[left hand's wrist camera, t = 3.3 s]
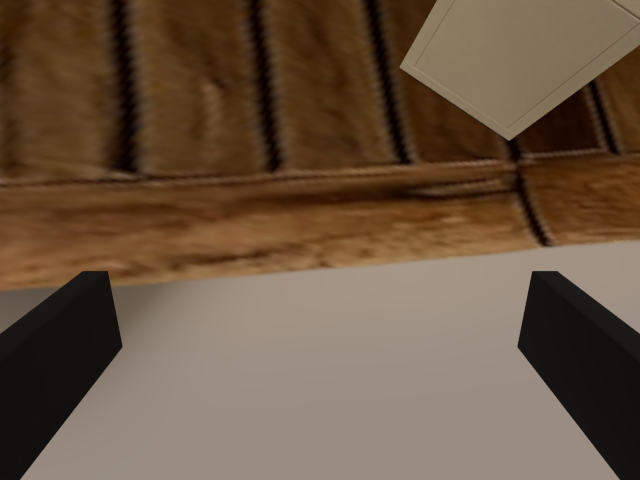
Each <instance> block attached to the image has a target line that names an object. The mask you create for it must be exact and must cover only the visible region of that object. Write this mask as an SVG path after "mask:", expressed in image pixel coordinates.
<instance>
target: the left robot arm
mask: <svg viewBox="0 0 640 480" xmlns="http://www.w3.org/2000/svg"><path fill="white" fill-rule="evenodd" d="M122 347H123V346H122V341H121V336H120V331H119V326H118V321H117V316H116V311H115V306H114V301H113V296H112V291H111V285H110V280H109V275H108V271H82V272H81V273H80V274H79V275H77V276H76V277H75V278H73V279H72V280H71V281H69V282H68V283H67V284H65V285H64V286H63V287H61V288H60V289H59V290H57V291H56V292H55V293H53V294H52V295H51V296H50V297H48V298H47V299H46V300H44V301H43V302H42V303H40V304H39V305H38V306H36V307H35V308H34V309H32V310H31V311H30V312H28V313H27V314H26V315H24V316H23V317H22V318H21V319H19V320H18V321H17V322H15V323H14V324H13V325H11V326H10V327H9V328H7V329H6V330H5V331H3V332H2V333H1V334H0V480H20V479H21V478H22V476H23V475H24V474H25V472H26V471H27V470H28V469H29V467H30V466H31V465H32V463H33V462H34V461H35V460H36V458H37V457H38V456H39V454H40V453H41V452H42V451H43V449H44V448H45V447H46V445H47V444H48V443H49V441H50V440H51V439H52V438H53V436H54V435H55V434H56V432H57V431H58V430H59V429H60V427H61V426H62V425H63V423H64V422H65V421H66V419H67V418H68V417H69V416H70V414H71V413H72V412H73V410H74V409H75V408H76V407H77V405H78V404H79V403H80V401H81V400H82V399H83V397H84V396H85V395H86V394H87V392H88V391H89V390H90V388H91V387H92V386H93V385H94V383H95V382H96V381H97V379H98V378H99V377H100V375H101V374H102V373H103V372H104V370H105V369H106V368H107V366H108V365H109V364H110V362H111V361H112V360H113V359H114V357H115V356H116V355H117V353H118V352H119V351H120V350H121V348H122ZM518 348H519V350H520V351H521V352H522V353H523V355H524V356H525V357H526V359H527V360H528V361H529V363H530V364H531V365H532V366H533V368H534V369H535V370H536V372H537V373H538V374H539V375H540V377H541V378H542V379H543V381H544V382H545V383H546V385H547V386H548V387H549V388H550V390H551V391H552V392H553V393H554V395H555V396H556V397H557V399H558V400H559V401H560V403H561V404H562V405H563V407H564V408H565V409H566V410H567V412H568V413H569V414H570V416H571V417H572V418H573V419H574V421H575V422H576V423H577V425H578V426H579V427H580V429H581V430H582V431H583V432H584V434H585V435H586V436H587V438H588V439H589V440H590V441H591V443H592V444H593V445H594V447H595V448H596V449H597V451H598V452H599V453H600V454H601V456H602V457H603V458H604V460H605V461H606V462H607V463H608V465H609V466H610V467H611V469H612V470H613V471H614V473H615V474H616V475H617V476H618V478H619V479H620V480H640V334H639V333H638V332H637V331H635V330H634V329H633V328H631V327H630V326H629V325H627V324H626V323H625V322H623V321H622V320H621V319H619V318H618V317H617V316H615V315H614V314H613V313H612V312H610V311H609V310H608V309H606V308H605V307H604V306H602V305H601V304H600V303H598V302H597V301H596V300H594V299H593V298H592V297H590V296H589V295H588V294H587V293H585V292H584V291H583V290H581V289H580V288H579V287H577V286H576V285H575V284H573V283H572V282H571V281H569V280H568V279H567V278H565V277H564V276H563V275H561V274H560V273H559V272H558V271H532V276H531V280H530V285H529V291H528V296H527V301H526V306H525V311H524V316H523V321H522V326H521V331H520V336H519V341H518Z"/></svg>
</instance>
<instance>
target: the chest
mask: <svg viewBox="0 0 640 480" xmlns="http://www.w3.org/2000/svg"><path fill="white" fill-rule="evenodd" d="M639 45H640V18H639V17H637V16H636V15H634V14H633V13H632V12H630V11H629V10H627V9H626V8H624V7H623V6H621V5H620V4H618V3H617V2H615V1H614V0H437V2H436V3H435V5H434V7H433V9H432V10H431V12H430V14H429V16H428V17H427V19H426V21H425V23H424V25H423V26H422V28H421V30H420V32H419V33H418V35H417V37H416V39H415V41H414V42H413V44H412V46H411V48H410V49H409V51H408V53H407V55H406V56H405V58H404V60H403V62H402V64H401V65H400V68H401V69H402V70H404V71H405V72H407V73H408V74H410V75H411V76H413V77H414V78H416V79H417V80H419V81H420V82H422V83H423V84H425V85H426V86H428V87H429V88H431V89H432V90H434V91H435V92H437V93H438V94H440V95H441V96H443V97H444V98H446V99H447V100H449V101H450V102H452V103H453V104H455V105H456V106H458V107H459V108H461V109H462V110H464V111H465V112H467V113H468V114H470V115H471V116H473V117H474V118H476V119H477V120H478V121H480V122H481V123H483V124H484V125H486V126H487V127H489V128H490V129H492V130H493V131H495V132H496V133H498V134H499V135H501V136H502V137H504V138H505V139H507V140H508V141H509V140H511V139H512V138H514V137H515V136H516V135H518V134H519V133H521V132H522V131H523V130H525V129H526V128H527V127H529V126H530V125H531V124H533V123H534V122H535V121H537V120H538V119H540V118H541V117H542V116H544V115H545V114H546V113H548V112H549V111H550V110H552V109H553V108H555V107H556V106H557V105H559V104H560V103H561V102H563V101H564V100H565V99H567V98H568V97H569V96H571V95H572V94H574V93H575V92H576V91H578V90H579V89H580V88H582V87H583V86H584V85H586V84H587V83H589V82H590V81H591V80H593V79H594V78H595V77H597V76H598V75H599V74H601V73H602V72H603V71H605V70H606V69H608V68H609V67H610V66H612V65H613V64H614V63H616V62H617V61H618V60H620V59H621V58H622V57H624V56H625V55H627V54H628V53H629V52H631V51H632V50H633V49H635V48H636V47H637V46H639Z"/></svg>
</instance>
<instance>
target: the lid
mask: <svg viewBox="0 0 640 480" xmlns="http://www.w3.org/2000/svg"><path fill="white" fill-rule="evenodd" d="M614 1H615V2H617V3H618V4H620V5H621V6H623V7H624V8H626V9H627V10H629V11H630V12H632V13H633V14H634V15H636V16H637V17H639V18H640V0H614Z"/></svg>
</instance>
